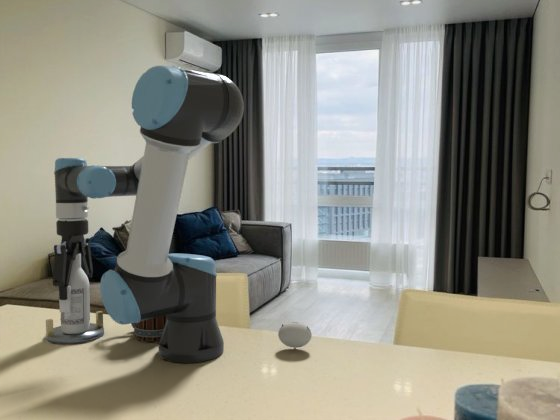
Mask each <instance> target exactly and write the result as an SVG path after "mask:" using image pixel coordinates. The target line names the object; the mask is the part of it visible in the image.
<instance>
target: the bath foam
mask: <svg viewBox="0 0 560 420" xmlns="http://www.w3.org/2000/svg"><path fill="white" fill-rule="evenodd" d="M68 286H71V311H72V312H70V313H67V312H60V326H61V331H62V332H63V333H65V334H79V333H84V332H86V331H88V330H89V329H90V323H91V305H90V298H91V297H90V296H91V295H90V294H91V293H90V292H91V291H90V289H91V288H90V281H89V278H88V277H87V275H86V274H85V272H84V271H83V269H82V268H81V254H80V253H79V254H76V259H75V260H74V261H73V265H72V270H71V275H70V280H69V285H68Z"/></svg>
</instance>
